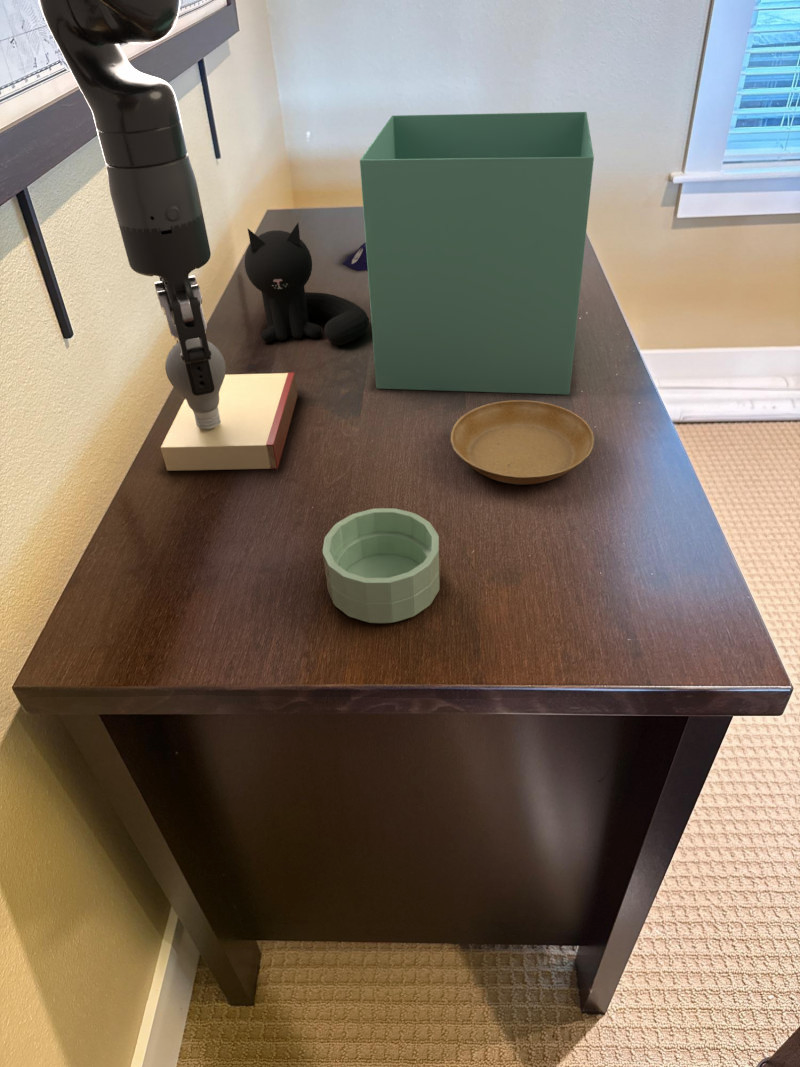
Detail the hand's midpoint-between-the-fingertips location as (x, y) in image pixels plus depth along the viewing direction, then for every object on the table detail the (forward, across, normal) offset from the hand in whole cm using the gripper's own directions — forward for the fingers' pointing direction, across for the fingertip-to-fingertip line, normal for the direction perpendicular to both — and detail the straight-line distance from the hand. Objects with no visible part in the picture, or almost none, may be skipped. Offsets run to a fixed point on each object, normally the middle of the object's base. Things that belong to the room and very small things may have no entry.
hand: (197, 374), depth 80 cm
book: (+9, -3, +3) cm, 10 cm away
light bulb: (+6, 0, 0) cm, 6 cm away
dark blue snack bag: (+9, -49, +37) cm, 62 cm away
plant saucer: (+9, +15, +30) cm, 35 cm away
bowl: (+9, +28, +10) cm, 32 cm away
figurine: (+9, -25, +18) cm, 32 cm away
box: (+9, -9, +36) cm, 38 cm away
